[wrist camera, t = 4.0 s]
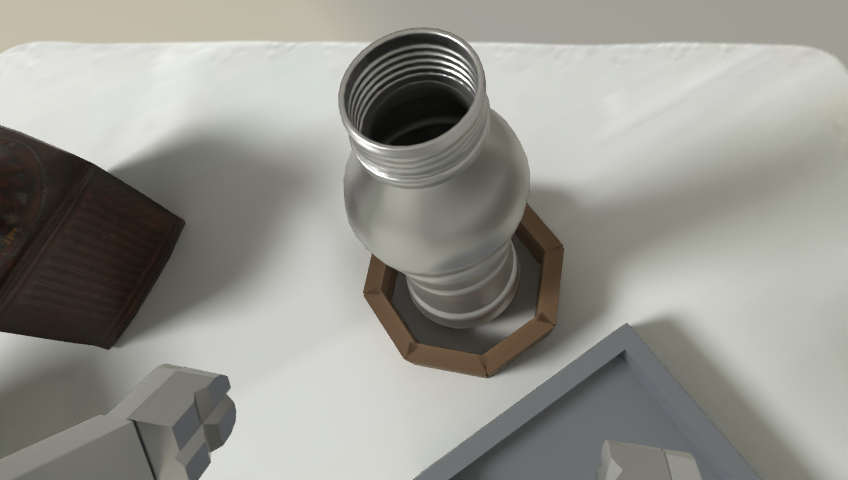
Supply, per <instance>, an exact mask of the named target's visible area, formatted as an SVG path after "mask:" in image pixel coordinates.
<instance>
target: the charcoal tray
mask: <svg viewBox="0 0 848 480" xmlns="http://www.w3.org/2000/svg"><path fill="white" fill-rule="evenodd" d="M605 440H612V441H619V442H625V443H631V444H637V445H644V446H650V447H656V448H659V449H667V450H673V451H680V452H686V453H690V454H691V455H692V456H693V457H694V458H695V461H696V464H697V467H698V470H699V473H700V476H701V478H702V480H762V479H761V478H760V477H759V476H758V475H757V474H756V472H755V471H754V470H753V469H752V468H751V467H750V465H749V464H748V463H747V462H746V461H745V460H744V458H743V457H742V456H741V455H740V454H739V453H738V451H737V450H736V449H735V448H734V447H733V446H732V444H731V443H730V442H729V441H728V440H727V439H726V437H725V436H724V435H723V434H722V433H721V432H720V430H719V429H718V428H717V427H716V426H715V425H714V423H713V422H712V421H711V420H710V419H709V418H708V416H707V415H706V414H705V413H704V412H703V411H702V410H701V408H700V407H699V406H698V405H697V404H696V403H695V401H694V400H693V399H692V398H691V397H690V396H689V394H688V393H687V392H686V391H685V390H684V389H683V387H682V386H681V385H680V384H679V383H678V382H677V380H676V379H675V378H674V377H673V376H672V375H671V373H670V372H669V371H668V370H667V369H666V368H665V366H664V365H663V364H662V363H661V362H660V361H659V359H658V358H657V357H656V356H655V355H654V354H653V352H652V351H651V350H650V349H649V348H648V347H647V346H646V344H645V343H644V342H643V341H642V340H641V339H640V337H639V336H638V335H637V334H636V333H635V332H634V330H633V329H632V328H631V327H630V326H629V325H628V323H626V324H624V325H623V326H621V327H620V328H618V329H617V330H615V331H614V332H612V333H611V334H610V335H608V336H607V337H606V338H604V339H603V340H602V341H600V342H599V343H597V344H596V345H595V346H593V347H592V348H591V349H589V350H588V351H587V352H585V353H584V354H582V355H581V356H580V357H578V358H577V359H576V360H574V361H573V362H572V363H570V364H569V365H567V366H566V367H565V368H563V369H562V370H561V371H559V372H558V373H557V374H555V375H554V376H552V377H551V378H550V379H548V380H547V381H546V382H544V383H543V384H542V385H540V386H539V387H537V388H536V389H535V390H533V391H532V392H531V393H529V394H528V395H527V396H525V397H524V398H522V399H521V400H520V401H518V402H517V403H516V404H514V405H513V406H512V407H510V408H509V409H507V410H506V411H505V412H503V413H502V414H501V415H499V416H498V417H497V418H495V419H494V420H492V421H491V422H490V423H488V424H487V425H486V426H484V427H483V428H481V429H480V430H479V431H477V432H476V433H475V434H473V435H472V436H471V437H469V438H468V439H466V440H465V441H464V442H462V443H461V444H460V445H458V446H457V447H456V448H454V449H453V450H451V451H450V452H449V453H447V454H446V455H445V456H443V457H442V458H441V459H439V460H438V461H436V462H435V463H434V464H432V465H431V466H430V467H428V468H427V469H426V470H424V471H423V472H421V473H420V474H419V475H418V476H417V477H415V478H414V479H413V480H595V476H596V472H597V469H598V468H599V467H601V466H602V457H601V451H602V447H603V444H604V442H605Z"/></svg>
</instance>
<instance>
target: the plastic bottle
mask: <svg viewBox="0 0 848 480" xmlns="http://www.w3.org/2000/svg"><path fill="white" fill-rule="evenodd" d="M338 98H339V109H340V114H341V118H342V122H343V124H344V126H345V128H346V130H347V132H348V134H349V140H350V143H351V147H352V151H351V153H350V156H349V158H348V161H347V163H346V168H345V174H344V179H343V180H344V201H345V209H346V213H347V217H348V221H349V224H350V226H351V227H352V229H353V231H354V233H355V235H356V237H357V238H358V239H359V241H360V242H361V243H362V244H363V245H364V246H365V248H366V249H367V250H368V251H370V252H371V253H372V254H373V255H375V256H376V257H377V258H378V259H380V260H381V261H382V262H384V263H385V264H387V265H388V266H390V267H392V268H394V269H396V270H398V271H400V272H402V273H404V274H405V275H406V282H407V286H408V289H409V293H410V296H411V298H412V300H413V302H414V304H415V306H416V307H417V308H418V309H419V310H420V311H421V313H422V314H423V315H425V316H426V317H427V318H429V319H430V320H431V321H433V322H435V323H438V324H440V325H442V326H446V327H450V328H463V329H464V328H471V327H476V326H479V325H482V324H485V323H487V322H489V321H490V320H492V319H494V318H496V317H497V316H498V315H499V314H500V313H501V312H503V311H504V310H505V309H506V307H507V306H508V305H509V304H510V302H511V301H512V299H513V297H514V295H515V293H516V291H517V288H518V285H519V281H520V263H519V258H518V255H517V252H516V250H515V247H514V244H513V242H512V241H511V238H512V236H513V234H514V233H515V231H516V229H517V227H518V225H519V223H520V221H521V219H522V217H523V213H524V210H525V206H526V202H527V199H528V195H529V191H530V170H529V165H528V159H527V156H526V154H525V152H524V149H523V147H522V145H521V143H520V141H519V139H518V138H517V136H516V134H515V132H514V131H513V130H512V128H511V127H510V126H509V124H508V123H507V122H506V120H505V119H503V118H502V117H501V116H500V115H499V114H498V113H497V112H495V111H494V110H493V109H491V108H490V106H489V100H488V97H487V94H486V80H485V74H484V70H483V67H482V64H481V62H480V59H479V57H478V55H477V54H476V52H475V51H474V50H473V48H472V47H471V46H470V45H469V44H468V43H467V42H465V41H464V40H463V39H461V38H460V37H458V36H456V35H454V34H452V33H450V32H447V31H444V30H440V29H434V28H425V27H424V28H410V29H406V30H401V31H397V32H395V33H391V34H389V35H386V36H384V37H382V38H380V39H378V40H377V41H375V42H373V43H372V44H370V45H369V46H368V47H366V48H365V49H364V50H362V51H361V52H360V53H359V55H358V56H357V57H356V58H355V59H354V60H353V61H352V62H351V64H350V66H349V67H348V69H347V70H346V72H345V74H344V76H343V79H342V81H341V84H340V89H339V94H338Z"/></svg>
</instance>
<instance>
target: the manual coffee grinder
mask: <svg viewBox="0 0 848 480" xmlns="http://www.w3.org/2000/svg"><path fill="white" fill-rule="evenodd" d="M184 224H185V222H184V220H183V219H181V218H180V217H178V216H176V215H175V214H173V213H171V212H170V211H168V210H167V209H165V208H164V207H162V206H161V205H159V204H158V203H156V202H155V201H153V200H152V199H150V198H148V197H147V196H145V195H144V194H142V193H141V192H139V191H137V190H136V189H134V188H133V187H131V186H129V185H128V184H126V183H124V182H123V181H121V180H119V179H118V178H116V177H115V176H113V175H111V174H110V173H108V172H106V171H105V170H103V169H101V168H100V167H98V166H97V165H95V164H93V163H91V162H89V161H87V160H84V159H82V158H80V157H78V156H76V155H74V154H71V153H69V152H67V151H65V150H62V149H60V148H57V147H55V146H53V145H50V144H48V143H45V142H43V141H41V140H38V139H36V138H33V137H31V136H29V135H26V134H24V133H22V132H19V131H16V130H13V129H10V128H7V127H4V126H1V125H0V332H6V333H13V334H19V335H25V336H32V337H38V338H45V339H51V340H58V341H64V342H71V343H78V344H86V345H94V346H97V347H101V348H104V349H107V350H108V349H110V348H111V347H112V345H113V344H114V343H115V341H116V340H117V339H118V338H119V336H120V335H121V334H122V332H123V331H124V330H125V328H126V327H127V326H128V324H129V323H130V322H131V321H132V319H133V318H134V316H135V315H136V313H137V311H138V310H139V308H140V306H141V305H142V303H143V301H144V300H145V298H146V296H147V295H148V293H149V291H150V290H151V288H152V286H153V285H154V283H155V281H156V280H157V278H158V276H159V275H160V273H161V271H162V269H163V268H164V266H165V264H166V263H167V261H168V259H169V258H170V256H171V253H172V251H173V249H174V246H175V244H176V242H177V240H178V237H179V235H180V233H181V230H182V228H183V226H184Z"/></svg>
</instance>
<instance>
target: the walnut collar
mask: <svg viewBox="0 0 848 480" xmlns="http://www.w3.org/2000/svg"><path fill="white" fill-rule="evenodd" d="M515 235H516V236H517V237H518V238H519V239H520V241H521V242H522V243H523V244H524V245H525V247H526V248H527V249H528V250H529V251H530V253H531V254H532V255H533V256H534V258H535V259H536V260H537V261H538V262H539V264H540V265H541V270H540V278H539V286H538V294H537V302H536V311H535V318H533V319H532V320H530V321H529V322H528V323H526V324H525V325H523V326H522V327H521V328H519V329H518V330H516V331H515V332H514V333H512V334H511V335H510V336H508V337H507V338H505V339H504V340H503V341H501V342H500V343H498V344H497V345H496V346H494V347H493V348H491V349H490V350H489V351H487V352H486V353H485V354H483V355H478V354H473V353H467V352H462V351H456V350H451V349H445V348H440V347H434V346H429V345H423V344H420V343H419V342H418V340H417V339H416V337H415V336H414V334H413V333H412V331H411V330H410V328H409V327H408V325H407V323H406V322H405V320H404V319H403V317H402V316H401V314H400V313H399V311H398V310H397V308H396V307H395V305H394V304H393V302H392V301H391V300H392V295H393V291H394V286H395V281H396V277H397V272H398V270H396V269H394V268H392V267H390V266H388V265H387V264H385V263H384V262H382V261H381V260H380V259H378V258H377V257H376V256H375V255H373V254H372V257H371V261H370V265H369V269H368V274H367V278H366V282H365V286H364V291H363V293H364V297H365V299H366V300H367V302H368V303H369V305H370V306H371V308H372V310H373V311H374V313H375V314H376V316H377V317H378V319H379V320H380V322H381V324H382V325H383V327H384V328H385V330H386V331H387V333H388V335H389V336H390V338H391V339H392V341H393V342H394V344H395V346H396V347H397V349H398V350H399V352H400V353H401V355H402V357H403V358H404V359H405V360H407V361H409V362H411V363H413V364H415V365H420V366H425V367H430V368H435V369H441V370H446V371H451V372H456V373H462V374H467V375H472V376H477V377H482V378H487V375H488V377H489V378H490V377H491V376H492V375H494V374H495V373H497V372H498V371H499V370H501V369H502V368H504V367H505V366H506V365H508V364H509V363H510V362H512V361H513V360H515V359H516V358H517V357H519V356H520V355H521V354H523V353H524V352H526V351H527V350H528V349H530V348H531V347H532V346H534V345H535V344H537V343H538V342H539V341H541V340H542V339H544V338H545V337H546V336H548V335H549V334H550V332H551V331H552V329H553V328H554V326H555V325H556V317H557V308H558V299H559V289H560V280H561V271H562V262H563V253H564V248H562V247H563V245H562V243H561V242H560V241H559V240H558V239H557V238H556V236H555V235H554V234H553V233H552V232H551V231H550V229H549V228H548V227H547V226H546V225H545V224H544V223H543V221H542V220H541V219H540V218H539V217H538V216H537V214H536V213H535V212H534V211H533V210H532V209H531V207H530V206H529V205H528V204H527V203H526V206H525V210H524V213H523V217H522V219H521V221H520V223H519V225H518V227H517V229H516V231H515Z"/></svg>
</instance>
